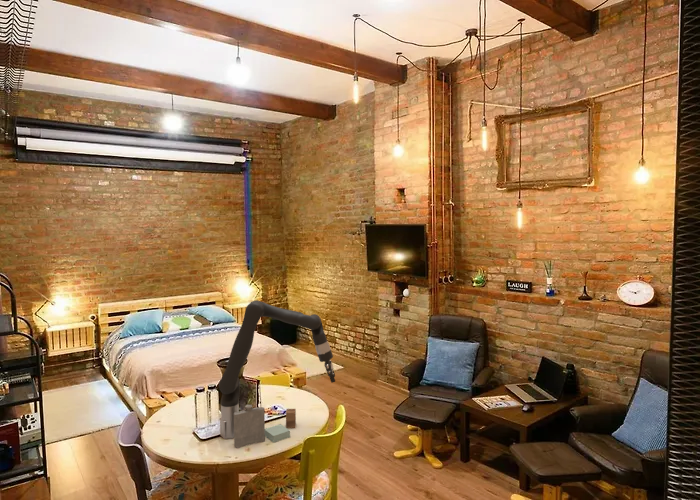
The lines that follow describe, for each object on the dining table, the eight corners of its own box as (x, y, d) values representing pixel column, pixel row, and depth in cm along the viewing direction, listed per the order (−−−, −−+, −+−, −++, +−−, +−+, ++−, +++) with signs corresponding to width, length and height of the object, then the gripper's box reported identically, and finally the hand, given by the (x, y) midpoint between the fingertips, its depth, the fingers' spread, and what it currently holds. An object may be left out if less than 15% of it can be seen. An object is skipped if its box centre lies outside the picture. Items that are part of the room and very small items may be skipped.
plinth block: (273, 443, 240) (273, 435, 240) (264, 436, 248) (264, 429, 248) (290, 437, 246) (290, 430, 246) (280, 431, 254) (280, 424, 254)
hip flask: (235, 448, 234) (234, 410, 232) (233, 445, 237) (232, 407, 236) (265, 441, 241) (265, 404, 240) (263, 438, 245) (262, 401, 244)
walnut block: (295, 428, 257) (294, 412, 256) (286, 428, 256) (285, 412, 256) (295, 424, 262) (295, 408, 261) (286, 424, 261) (286, 408, 261)
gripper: (317, 349, 253) (327, 377, 253) (316, 356, 238) (326, 386, 239) (330, 345, 253) (340, 373, 254) (330, 352, 239) (340, 381, 239)
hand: (333, 379), depth 246 cm, fingers open, 8 cm apart
